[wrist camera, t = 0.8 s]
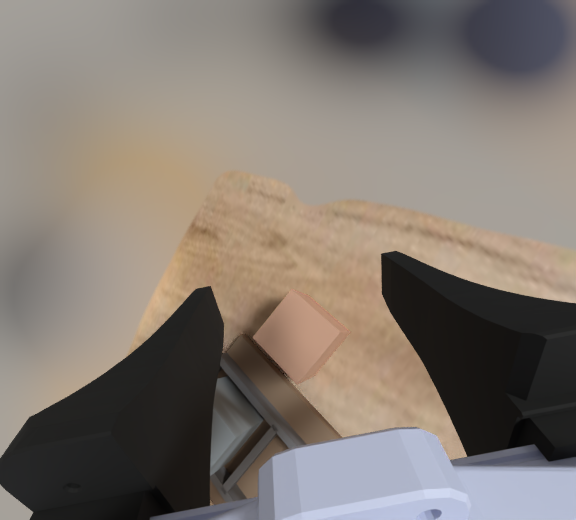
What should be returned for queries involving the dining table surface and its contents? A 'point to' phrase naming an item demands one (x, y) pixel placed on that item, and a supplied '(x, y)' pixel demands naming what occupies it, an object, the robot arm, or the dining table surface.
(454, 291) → the robot arm
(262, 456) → the puzzle board
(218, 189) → the dining table surface
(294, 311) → the terracotta block
